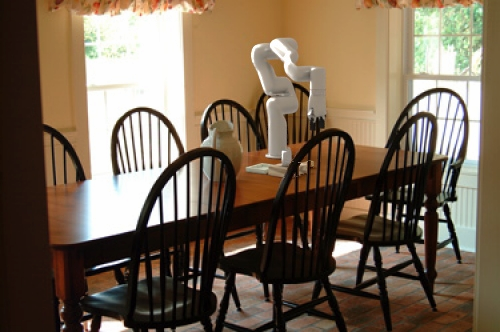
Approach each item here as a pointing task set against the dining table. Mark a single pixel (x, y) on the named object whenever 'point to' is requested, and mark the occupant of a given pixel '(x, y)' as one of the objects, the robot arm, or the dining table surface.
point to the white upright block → (286, 158)
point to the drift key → (311, 163)
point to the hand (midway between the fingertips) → (317, 129)
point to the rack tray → (259, 168)
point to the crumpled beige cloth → (280, 171)
